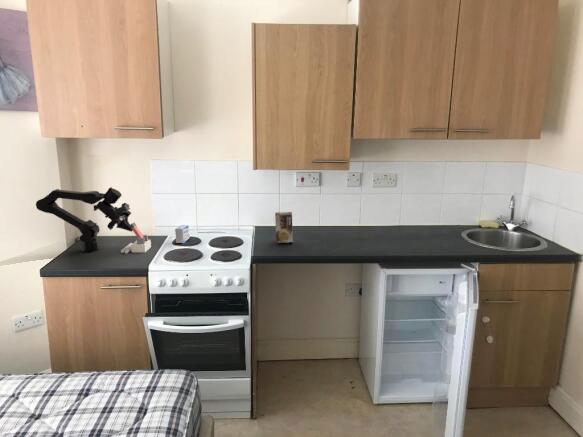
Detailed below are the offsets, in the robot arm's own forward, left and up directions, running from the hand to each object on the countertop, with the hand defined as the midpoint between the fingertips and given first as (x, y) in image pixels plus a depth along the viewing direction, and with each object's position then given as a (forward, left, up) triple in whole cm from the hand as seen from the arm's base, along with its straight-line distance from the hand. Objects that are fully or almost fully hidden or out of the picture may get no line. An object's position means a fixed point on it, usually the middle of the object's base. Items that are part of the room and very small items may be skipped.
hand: (132, 230), depth 232 cm
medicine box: (+16, +20, -10) cm, 28 cm away
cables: (-3, -1, -10) cm, 11 cm away
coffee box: (+69, +37, -10) cm, 79 cm away
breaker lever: (+4, +2, -5) cm, 7 cm away
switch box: (+3, +1, -10) cm, 11 cm away
